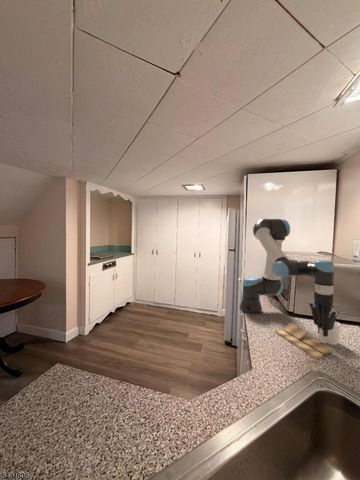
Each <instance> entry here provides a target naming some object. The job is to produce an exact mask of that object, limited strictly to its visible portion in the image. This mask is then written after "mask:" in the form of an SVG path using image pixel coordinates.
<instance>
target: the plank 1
mask: <svg viewBox="0 0 360 480" xmlns="http://www.w3.org/2000/svg"><path fill="white" fill-rule="evenodd" d="M282 330H283V331H285V332H286V333H288V334H290V335H291V336H293V337H295V338H296V339H298V340H300V341H301V342H302V340H304V338H306V337H307V336H308V334H309V331H308V330H305V329H304V328H303V327H300V326H298V325H296V324H294V323H292V322H289V323H288V324H286V326H285V327H283V328H282Z"/></svg>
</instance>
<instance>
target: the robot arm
mask: <svg viewBox="0 0 360 480" xmlns="http://www.w3.org/2000/svg"><path fill="white" fill-rule="evenodd" d="M252 233H253V236H254V237H255V239H256V240H258V241H259V242H260V244H261V245H262V247H263V249H264V250H265V252H266V259H265V267H264V273H263V274H262V275H261V277H260V276H256V275H250V276H245V277H244V278H243V280H242V285H241V286H242V292H241V295H242V298H241V300H240V303H239V310H240V311H241V312H243V313H246V314H253V315H257V314H261V313H262V312H263V308H262V304H261V301H260V297H261V296H271V297H272V296H278V295H280V294H281V293H282V292H283V290H284V285H283V281H282V280H281V278H280V277H308V278H309V277H310V278H312V279H314V281H313V283H314V284H313V285H314V289H313V291H314V293H313V299H314V301H313V303H312V302H311V303H309V307H310V308H311V315H312V320H313V323H314V325H315V326H317V334H318V340H319V342H321V343H324V344H325V342H326V338H327V336H328V330H332V329H333V326H334V323H335V321H336V319H337V316H338V315H339V314H340V313H339V311H336V310H335V309H334V305H333V303H334V295H333V294H334V293H335V292H334V291H335V290H334V288H335V285H334V281H335V264H334V262H333V261H332V260H326V259H317V260H315V261H314V262H312V261H308V260H301V261H290V260H289V258H288V257H287V255H286V254H285V253H284V251H283V250H282V245H283V242H284V241H286V237H288V236H289V235H290V234H291V225H290V224H289V222H288V221H287V220H286V219H281V218H261V219H259V220H258V221H256V222H255V224H254V226H253V227H252Z"/></svg>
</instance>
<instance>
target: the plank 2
mask: <svg viewBox="0 0 360 480" xmlns="http://www.w3.org/2000/svg"><path fill="white" fill-rule="evenodd" d="M301 342H303V343H304V344H306V345H308V346H309V347H311V348H313V349H314V350H316V351H318V352H319V353H321V354H323V356H325V355H328V354H329V353H331V352H334V348H333V347H331V346H329V344H327V343H325V342H324V343H321V342H319V339H318V338H317V339H316V338H315V337H313V336H308V337H307V338H306V337H305V339H304V338H303V339H302V340H301Z"/></svg>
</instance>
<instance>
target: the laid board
mask: <svg viewBox="0 0 360 480" xmlns="http://www.w3.org/2000/svg"><path fill="white" fill-rule="evenodd" d="M274 333H275V334H277V335H279V336H280V337H282V338H283V339H285V340H287V341H288V342H289V343H291V344H293V345H294V346H295V347H297V348H299V349H300V350H302V351H303V352H304V353H306V354H308V355H310V356H311V357H312V358H314V359H321V358H324V356H325V355H324V356H323V354H321V353H319V352H318V351H316V350H314V349H313V348H311V347H309V346H308V345H306V344H304V343H303V342H302V340H301V341H300V340H298V339H296V338H295V337H293V336H291V335H290V334H288V333H287V332H285V331H283V329H276V330H275V332H274Z"/></svg>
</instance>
